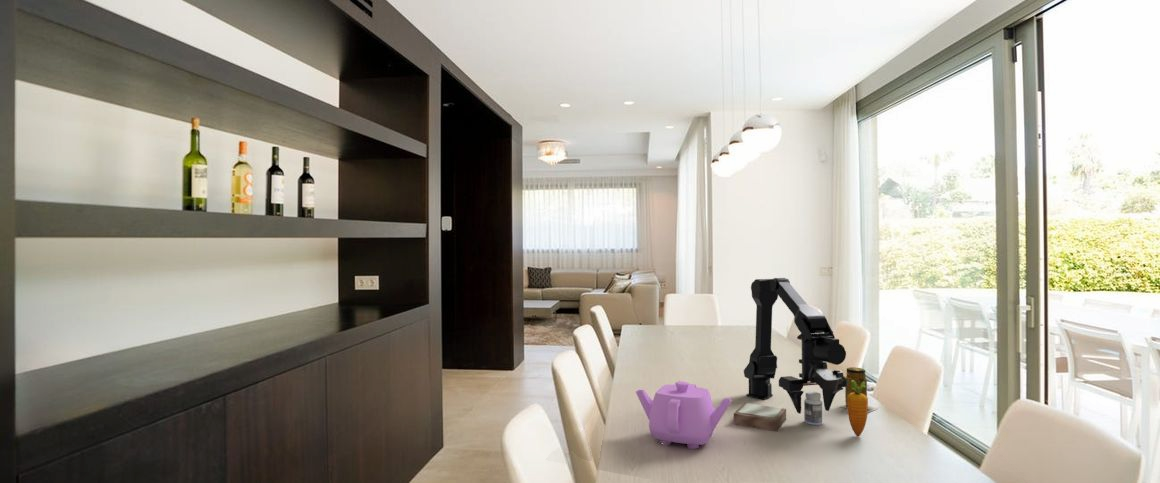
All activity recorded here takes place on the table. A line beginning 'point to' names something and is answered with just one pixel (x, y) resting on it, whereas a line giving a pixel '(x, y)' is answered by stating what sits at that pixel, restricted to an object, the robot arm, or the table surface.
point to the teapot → (682, 414)
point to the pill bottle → (813, 408)
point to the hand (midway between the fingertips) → (813, 411)
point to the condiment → (858, 377)
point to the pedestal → (760, 416)
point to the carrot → (857, 408)
